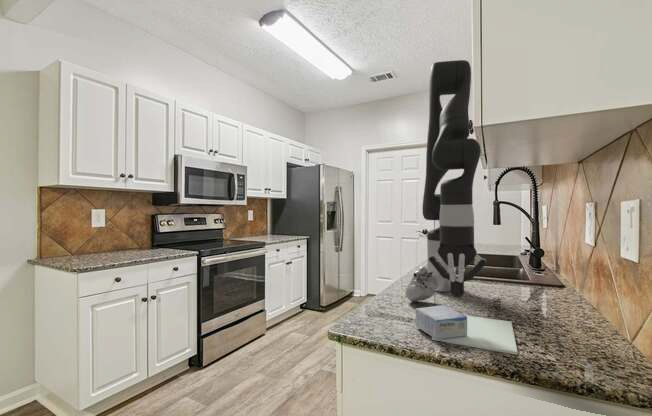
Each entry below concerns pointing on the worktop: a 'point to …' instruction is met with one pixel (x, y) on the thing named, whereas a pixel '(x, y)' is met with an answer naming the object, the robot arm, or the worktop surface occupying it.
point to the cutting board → (487, 335)
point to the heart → (422, 285)
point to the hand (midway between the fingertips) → (457, 297)
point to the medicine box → (441, 322)
